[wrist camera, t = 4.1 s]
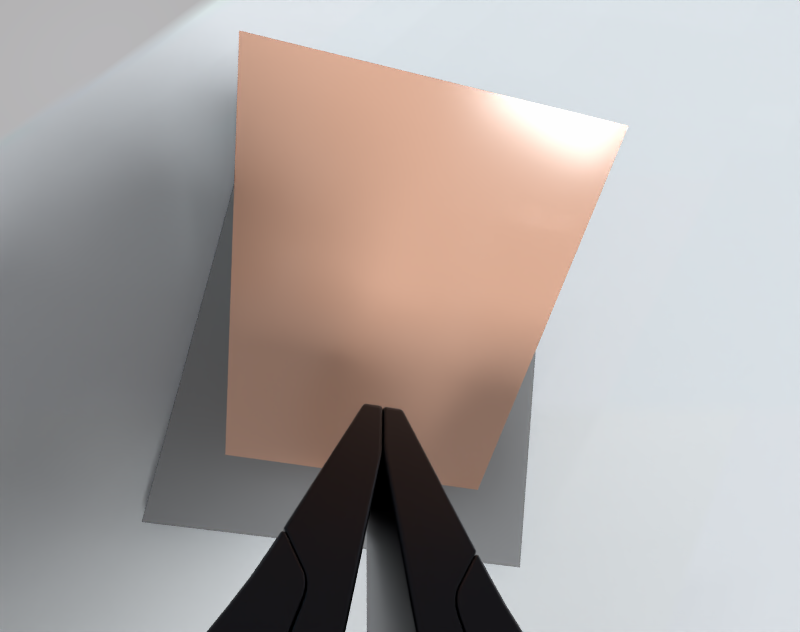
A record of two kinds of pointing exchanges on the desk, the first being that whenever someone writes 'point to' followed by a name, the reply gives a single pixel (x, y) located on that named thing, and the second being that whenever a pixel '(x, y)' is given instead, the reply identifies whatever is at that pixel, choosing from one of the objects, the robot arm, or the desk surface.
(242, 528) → the mat
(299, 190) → the tile
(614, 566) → the desk surface
